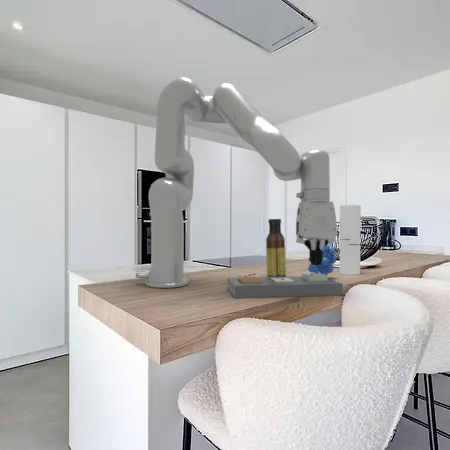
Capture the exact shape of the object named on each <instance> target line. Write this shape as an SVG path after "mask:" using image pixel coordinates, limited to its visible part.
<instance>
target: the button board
mask: <svg viewBox="0 0 450 450" xmlns="http://www.w3.org/2000/svg"><path fill="white" fill-rule="evenodd" d="M271 278H290V279H292V280H294V281H295V282H281V283H275V282H273V281H272V280H271ZM343 285H344V284H343V282H340V281H337V280H334V279H331V278H330V277H327V281H326V282H308V281H305V280H303V279H302V276H301V275H300V276H297V275H296V276H288V275H287V276H286V277H267V276H261V283H240V282H239V276H237V277H227V289H228V291H229V292H230V294H231V293H232V294H231V295H232V297H234V299H254V298H258V297H260V298H288V296H295V297H320V296H321V297H325V296H327V297H328V296H343V295H344V294H343V293H344V292H343V291H344V290H343V289H344V287H343Z"/></svg>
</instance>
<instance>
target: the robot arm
mask: <svg viewBox="0 0 450 450" xmlns="http://www.w3.org/2000/svg"><path fill="white" fill-rule="evenodd" d="M250 101H251V100H249V99H248V98H247V97H246V95H244V94H243V92H242V91H241V90H239V88H238V87H236V86H235V85H234V84H232V83H229V82H225V83H221V84H219V85H218V86H217V87H216V88H215V89H214V91H213V93H212V95H206V94H205V93H204V92H203V91H202V89H201V88H200V86H199V85H198V84H197V83H196V82H195V81H194V80H192V79H190V78H189V77H178V78H175V79H172V80H171V81H170V82H168V83H167V84H166V85H165V86H164V88H163V89H162V91H161V93H160V95H159V97H158V101H157V105H156V129H155V144H154V145H155V146H154V163H155V166H156V168H157V169H158V170H159V171H161V172H162V173H164V174H165V177H161V178H158V179H156V180H155V181H154V182H152V184H151V185H150V188H149V190H148V205H149V211H150V229H151V230H150V231H151V237H150V238H151V241H150V242H151V243H150V244H151V245H150V250H151V252H150V254H151V256H150V257H151V259H150V261H151V263H150V265H151V266H150V269H147V271H143V270H138V271H135V278H136V279H146V280H145V285H146V286H147V287H149V288H156V289H157V288H159V289H160V288H161V289H165V288H167V289H170V288H179V287H184V286H187V285H188V284H189V282H190V281H189V280H190V279H188V278H186V277H184V272H185V271H184V263H185V262H184V261H185V259H184V255H185V254H184V251H185V249H184V248H185V247H184V246H185V245H184V241H185V238H184V237H185V234H184V233H185V232H184V229H185V228H184V227H185V226H184V224H185V223H184V215H183V211H185V210H186V209H188V208H189V207H190V205H191V203H192V201H193V197H194V195H193V193H194V179H195V178H194V175H195V163H194V159H193V156H192V155H191V153H190V152H189V151H188V150H187V149H186V147H185V145H186V144H185V142H186V141H185V140H186V139H185V138H186V137H185V135H186V123H185V116H186V117H187V118H188V119H189V120H191V121H193V122H196V123H208V124H228V125H229V127H230V128H231V129H232V130H233V131H234V132H235V133H236V134H237V135H238V136H239V138H240V139H241V140H242V141H243V142H244V143H246V144H248V145H250V146H251V147H252V148H254V149H255V150H256V151H257V152H258V154H259V155H260V156H261V157H262V158H263V159H264V160H265V161H266V162H267V163H268V165H269V166H270V168H271V169H272V170H273V174H274V175H275V177H276V178H277V179H278V180H280V181H284V182H291V181H296V180H300V191H299V192H297V193H295V194H296V195H295V198H297V199H300V201H299V202H298V206H297V211H296V218H295V219H296V220H295V221H296V222H295V233H296V234H295V235H296V240H295V241H296V243H298V244H302V245H304V246H305V247H306V248H307V250H308V251H309V253H308V254H309V257H310V261H309V262H310V264H313V265H321V262H322V250H324V247H325V246H326V245H327V244H332V243H335V242H336V237H337V234H338V224H337V223H338V222H337V215H336V209H335V205H334V202H333V201H331V198H330V197H331V196H330V195H331V193H330V188H331V185H330V181H331V180H330V175H331V174H330V154H329V152H327V151H326V150H320V149H315V150H308V151H305V152H303V153H302V154H301V155H300V153H299V152H298V150H297V149H296V147H295V146H293V144H292V143H291V142H290V141H289V140H288V138H286V137H285V136H284V135H283V134H282V133H281V132H280V131H279V130H278V128H277V127H276V126H274V125H273V124H271V122H270V121H269V120H267V119H266V118H265V117H264V116H263V115H262V113H261V112H260V111H259V110H258V109H257V107H255V105H253V104H252V102H250Z"/></svg>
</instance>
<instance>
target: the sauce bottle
mask: <svg viewBox="0 0 450 450" xmlns="http://www.w3.org/2000/svg"><path fill="white" fill-rule="evenodd" d="M281 224H282V219H281V218H268V225H269V226H268V228H269V230H268V235H267V237H266V238H265V244H266V247H265V251H266V252H265V253H266V277H287V276H286V274H287V266H286V265H287V261H286V260H287V259H286V258H287V257H286V244H285V237H284V235H283V233H282V230H281V228H282V227H281Z"/></svg>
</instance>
